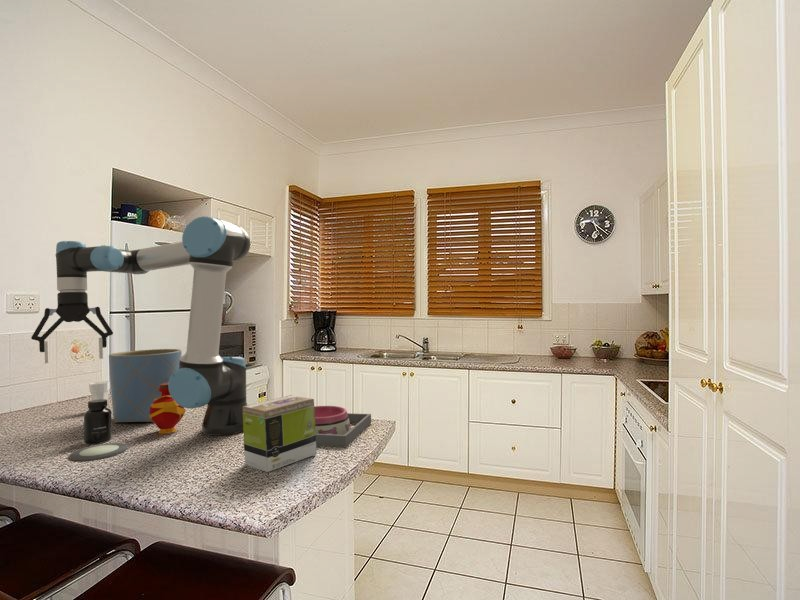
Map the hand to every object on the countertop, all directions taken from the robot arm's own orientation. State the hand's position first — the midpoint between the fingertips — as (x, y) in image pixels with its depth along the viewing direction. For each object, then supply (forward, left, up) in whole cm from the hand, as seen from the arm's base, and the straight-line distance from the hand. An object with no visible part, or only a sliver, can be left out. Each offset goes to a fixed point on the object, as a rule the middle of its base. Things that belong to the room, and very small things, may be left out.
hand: (74, 360), depth 138 cm
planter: (-4, -25, -24) cm, 34 cm away
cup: (+23, -31, -24) cm, 45 cm away
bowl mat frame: (-75, -15, -24) cm, 80 cm away
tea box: (-74, +9, -24) cm, 78 cm away
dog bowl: (-75, -15, -24) cm, 80 cm away
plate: (-21, +11, -24) cm, 33 cm away
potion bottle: (-25, -10, -24) cm, 36 cm away
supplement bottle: (-11, +2, -24) cm, 26 cm away
